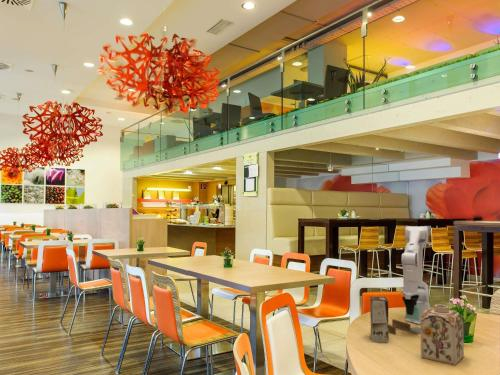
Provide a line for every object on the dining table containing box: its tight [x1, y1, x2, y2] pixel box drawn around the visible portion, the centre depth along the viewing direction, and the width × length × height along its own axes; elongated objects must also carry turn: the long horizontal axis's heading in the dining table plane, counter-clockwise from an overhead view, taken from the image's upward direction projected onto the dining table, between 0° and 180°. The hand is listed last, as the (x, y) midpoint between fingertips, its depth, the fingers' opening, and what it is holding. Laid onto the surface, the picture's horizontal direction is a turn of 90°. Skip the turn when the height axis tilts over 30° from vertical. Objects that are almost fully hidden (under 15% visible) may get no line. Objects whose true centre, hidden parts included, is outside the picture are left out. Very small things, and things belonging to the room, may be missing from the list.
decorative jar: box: [420, 304, 465, 366], centre depth 151 cm, size 12×12×18 cm
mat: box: [409, 326, 421, 335], centre depth 184 cm, size 7×7×1 cm
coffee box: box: [369, 296, 390, 344], centre depth 172 cm, size 9×6×16 cm
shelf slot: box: [388, 318, 411, 335], centre depth 184 cm, size 10×9×3 cm
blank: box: [405, 305, 420, 320], centre depth 180 cm, size 4×5×5 cm
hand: (411, 313), depth 180 cm, fingers closed on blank, 4 cm apart
